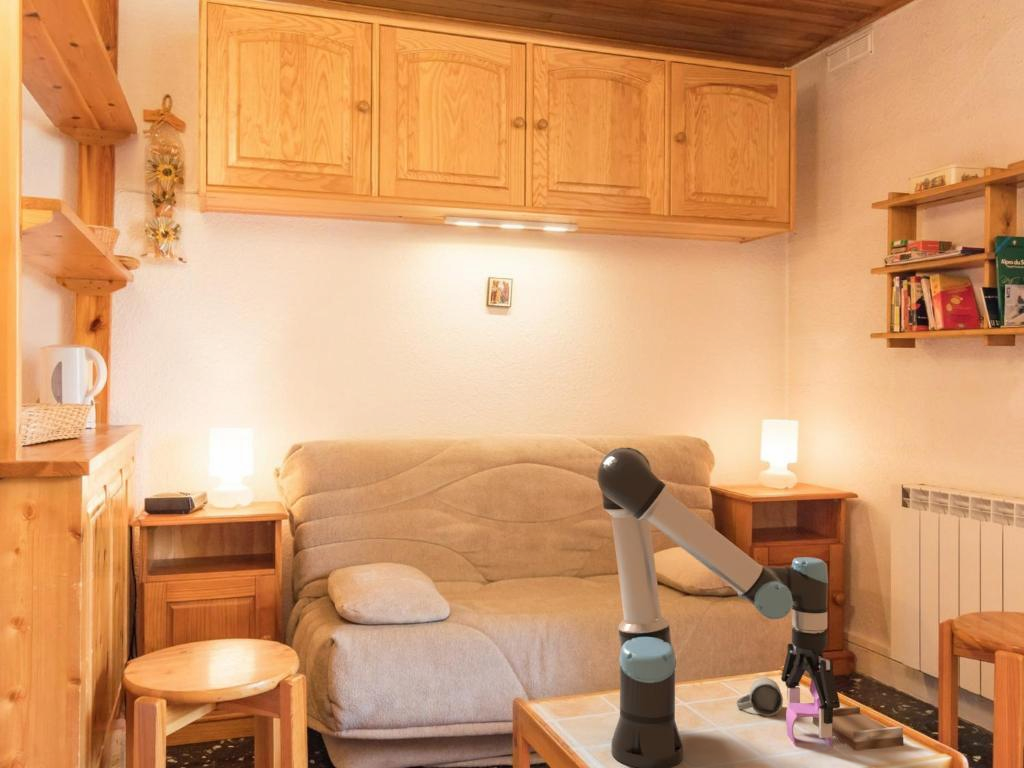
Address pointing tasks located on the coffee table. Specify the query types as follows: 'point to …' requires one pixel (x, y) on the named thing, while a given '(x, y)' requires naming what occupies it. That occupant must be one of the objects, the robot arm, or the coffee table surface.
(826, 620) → the robot arm
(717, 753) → the coffee table surface
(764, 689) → the ceramic mug
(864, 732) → the shelf board
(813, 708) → the toy chair
